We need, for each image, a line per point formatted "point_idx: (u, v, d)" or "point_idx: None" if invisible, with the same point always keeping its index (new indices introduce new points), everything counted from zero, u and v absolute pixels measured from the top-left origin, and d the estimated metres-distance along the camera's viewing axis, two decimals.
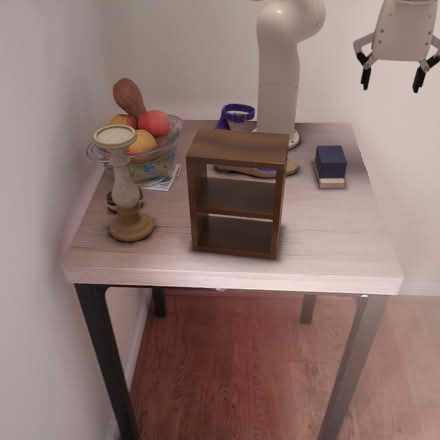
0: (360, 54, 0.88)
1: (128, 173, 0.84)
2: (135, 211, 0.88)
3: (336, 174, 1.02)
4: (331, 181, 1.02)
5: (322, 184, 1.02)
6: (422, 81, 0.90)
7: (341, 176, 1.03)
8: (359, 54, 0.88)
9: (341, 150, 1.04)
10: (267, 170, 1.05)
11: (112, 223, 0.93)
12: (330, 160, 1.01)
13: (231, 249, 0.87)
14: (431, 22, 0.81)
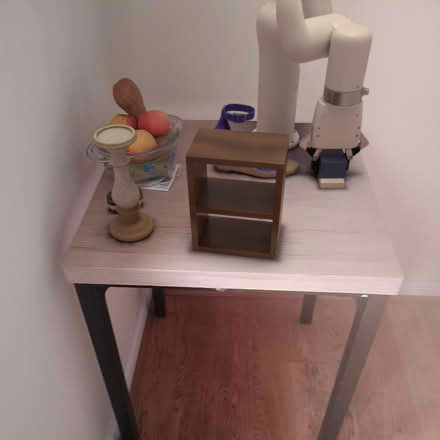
0: (309, 149, 1.01)
1: (128, 173, 0.84)
2: (135, 211, 0.88)
3: (336, 174, 1.02)
4: (331, 181, 1.02)
5: (322, 184, 1.02)
6: (347, 166, 1.04)
7: (341, 176, 1.03)
8: (308, 149, 1.01)
9: (341, 150, 1.04)
10: (267, 170, 1.05)
11: (112, 223, 0.93)
12: (330, 160, 1.01)
13: (231, 249, 0.87)
14: (359, 119, 0.95)
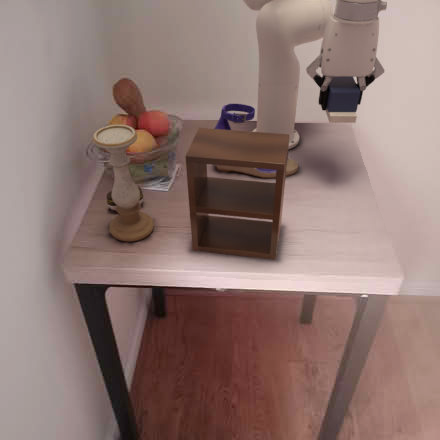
0: (317, 77, 0.91)
1: (128, 173, 0.84)
2: (135, 211, 0.88)
3: (347, 107, 0.92)
4: (342, 114, 0.92)
5: (332, 118, 0.92)
6: (360, 99, 0.94)
7: (353, 109, 0.92)
8: (316, 77, 0.91)
9: (352, 81, 0.93)
10: (267, 170, 1.05)
11: (112, 223, 0.93)
12: (341, 90, 0.90)
13: (231, 249, 0.87)
14: (375, 39, 0.84)
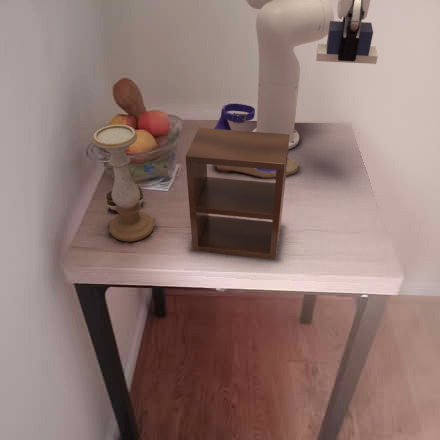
0: (358, 25, 0.79)
1: (128, 173, 0.84)
2: (135, 211, 0.88)
3: None
4: (374, 51, 0.86)
5: (377, 57, 0.85)
6: None
7: None
8: (358, 25, 0.79)
9: (343, 22, 0.86)
10: (267, 170, 1.05)
11: (112, 223, 0.93)
12: (366, 28, 0.84)
13: (231, 249, 0.87)
14: None
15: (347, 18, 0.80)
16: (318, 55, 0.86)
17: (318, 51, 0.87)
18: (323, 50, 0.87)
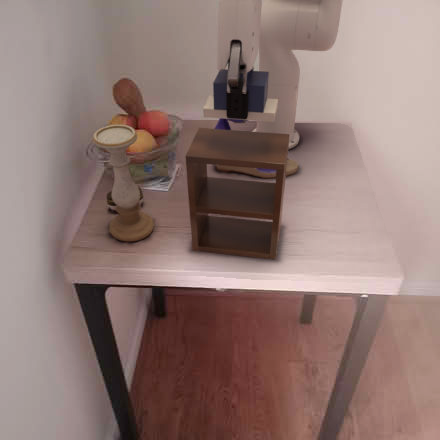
0: (241, 79, 0.64)
1: (128, 173, 0.84)
2: (135, 211, 0.88)
3: (266, 96, 0.71)
4: (272, 106, 0.71)
5: (274, 114, 0.70)
6: None
7: None
8: (241, 80, 0.64)
9: None
10: (267, 170, 1.05)
11: (112, 223, 0.93)
12: (259, 79, 0.68)
13: (231, 249, 0.87)
14: None
15: None
16: (204, 110, 0.71)
17: (205, 105, 0.71)
18: (212, 104, 0.72)
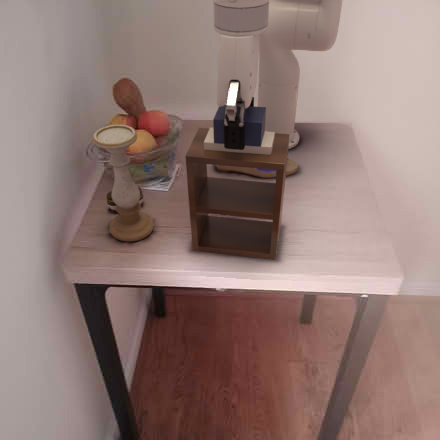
0: (238, 114, 0.66)
1: (128, 173, 0.84)
2: (135, 211, 0.88)
3: (263, 130, 0.75)
4: (269, 139, 0.75)
5: (271, 148, 0.74)
6: None
7: (264, 129, 0.76)
8: (237, 115, 0.66)
9: None
10: (267, 170, 1.05)
11: (112, 223, 0.93)
12: (257, 116, 0.72)
13: (231, 249, 0.87)
14: None
15: None
16: (205, 144, 0.75)
17: (206, 139, 0.75)
18: (212, 138, 0.75)
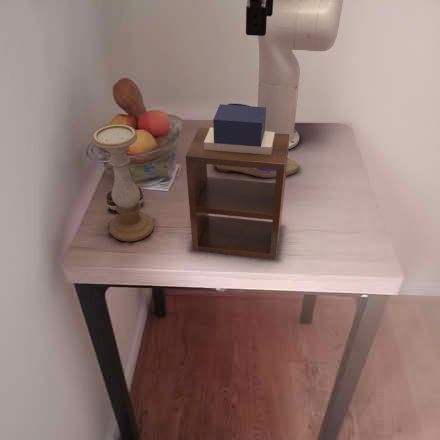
0: None
1: (128, 173, 0.84)
2: (135, 211, 0.88)
3: (263, 130, 0.75)
4: (269, 139, 0.75)
5: (271, 148, 0.74)
6: None
7: (264, 129, 0.76)
8: None
9: (234, 106, 0.75)
10: (267, 170, 1.05)
11: (112, 223, 0.93)
12: (257, 116, 0.72)
13: (231, 249, 0.87)
14: None
15: None
16: (205, 144, 0.75)
17: (206, 139, 0.75)
18: (212, 138, 0.75)
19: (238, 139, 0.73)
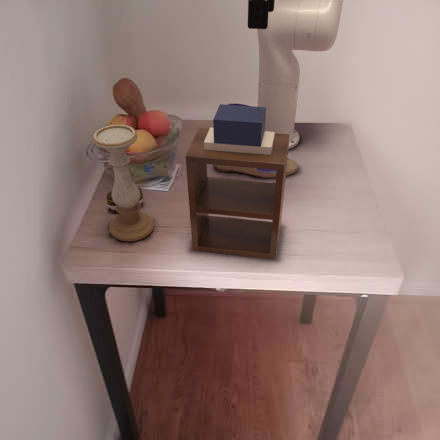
0: None
1: (128, 173, 0.84)
2: (135, 211, 0.88)
3: (263, 130, 0.75)
4: (269, 139, 0.75)
5: (271, 148, 0.74)
6: None
7: (264, 129, 0.76)
8: None
9: (234, 106, 0.75)
10: (267, 170, 1.05)
11: (112, 223, 0.93)
12: (257, 116, 0.72)
13: (231, 249, 0.87)
14: None
15: None
16: (205, 144, 0.75)
17: (206, 139, 0.75)
18: (212, 138, 0.75)
19: (238, 139, 0.73)
